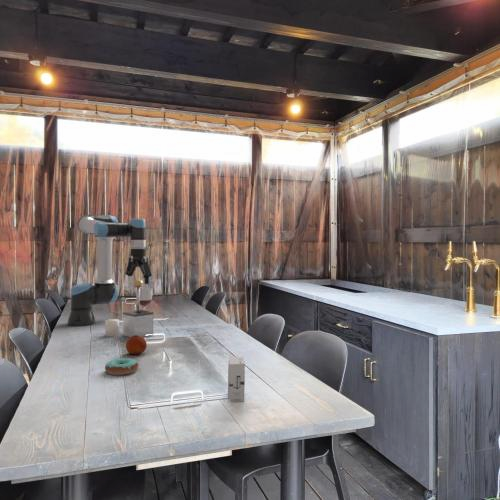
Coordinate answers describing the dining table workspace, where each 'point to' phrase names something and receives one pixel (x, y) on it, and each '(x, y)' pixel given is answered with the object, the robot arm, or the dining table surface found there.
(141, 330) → the grey block with hole
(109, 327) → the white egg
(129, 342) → the fruit
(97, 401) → the dining table surface
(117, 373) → the donut
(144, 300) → the wineglass
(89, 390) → the dining table surface
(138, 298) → the gold knobbed rod
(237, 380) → the ink box
